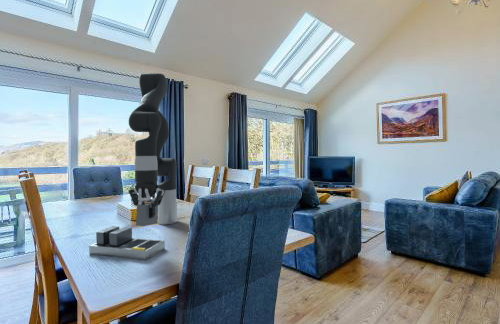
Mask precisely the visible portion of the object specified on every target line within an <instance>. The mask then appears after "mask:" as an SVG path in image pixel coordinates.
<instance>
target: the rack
mask: <svg viewBox="0 0 500 324" xmlns="http://www.w3.org/2000/svg"><path fill="white" fill-rule="evenodd" d="M95 235H96V236H95V237H96V239H95V240H96V242H95V243H92V244H89V246H88V248H89V255H95V256H103V257H112V258H122V259H130V260H131V259H132V260H140V261H141V260H142V261H147V260H149V259H151V258H152V257H154V256H156V255H157V254H159V253H160V252H162V251H164V250H165V249H166V248H165V247H166V246H165V244H166V242H165V240H162V239H161V240H160V239H147V238H136V237H133V228H132V227H129V226H125V227H122V228H120V226H115V225H112V226H109V227H107V228H104V229H100V230H98V231H96V232H95Z"/></svg>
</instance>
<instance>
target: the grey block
mask: <svg viewBox="0 0 500 324" xmlns="http://www.w3.org/2000/svg"><path fill="white" fill-rule="evenodd" d="M135 218H136V219H135V226H137V227H146V226H150V225H156V224H158V206H156V207H155V216H154V218H149V204H148V203H145V204H141V205H136V217H135Z"/></svg>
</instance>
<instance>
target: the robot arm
mask: <svg viewBox="0 0 500 324" xmlns="http://www.w3.org/2000/svg"><path fill="white" fill-rule="evenodd" d="M138 82H139V83H138V84H139V88H140V93H141V97H142V98H141V100H140V101H139V104H138V106H137V107H136V108H134V109H133V111H132V112H131V113H130V115H129V118H128V126H129V128H130V129H131V131H133V132H136V133H148V136H147V137H145V138H140V139H136V140H135V142H134V150H135V151H134V153H135V154H134V155H135V157H134V158H135V159H134V182H135V186H134V188H131V189H129V190H128V194H129V196H130V198H131V201H132V203H133V205H134V206H137V205H141V204H149V218H154V216H155V207H156V206H158V217H157V224H159V225H172V224H173V225H174V224H176V223H177V222H178V203H177V160H176V158H174V157H163V158H162V157H161V153H162V150H163V148H164V146H165V144H166V143H167V141H168V139H169V136H170V129H169V123H168V120H167V118H166V117H165V115H163V113H162V112H161V111H160V104H161V103H162V102H163V99H164V98H165V96H166V94H167V90H168V82H167V78H166V76H165V74H163V73H161V72H159V73H158V72H157V73H153V72H151V73H150V72H149V73H144V72H142V73H140V74H139V79H138ZM159 177H168V179H166V180H165V181H162V182H160V183H158V181H159ZM146 201H147V202H148V203H147V202H146Z"/></svg>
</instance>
